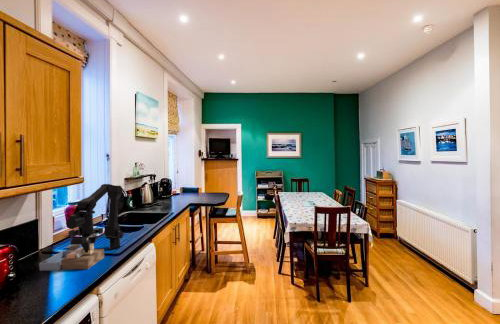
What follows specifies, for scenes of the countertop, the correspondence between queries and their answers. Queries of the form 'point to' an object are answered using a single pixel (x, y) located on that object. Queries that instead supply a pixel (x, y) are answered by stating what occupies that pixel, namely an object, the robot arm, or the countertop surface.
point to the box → (54, 262)
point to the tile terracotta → (72, 255)
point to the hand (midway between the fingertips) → (88, 251)
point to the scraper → (82, 252)
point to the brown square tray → (83, 260)
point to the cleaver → (73, 247)
